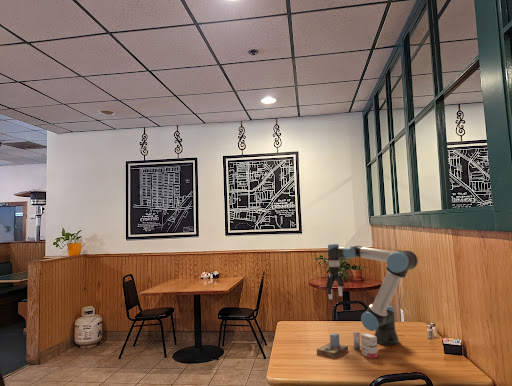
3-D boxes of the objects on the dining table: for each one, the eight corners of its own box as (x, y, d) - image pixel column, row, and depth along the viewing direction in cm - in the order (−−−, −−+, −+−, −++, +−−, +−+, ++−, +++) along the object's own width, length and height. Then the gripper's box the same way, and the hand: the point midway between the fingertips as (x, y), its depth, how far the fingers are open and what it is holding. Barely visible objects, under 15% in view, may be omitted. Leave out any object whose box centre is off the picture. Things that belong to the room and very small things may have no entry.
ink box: (378, 357, 212) (377, 336, 213) (371, 359, 210) (370, 337, 211) (367, 353, 220) (366, 332, 221) (361, 354, 218) (360, 334, 219)
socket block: (348, 351, 224) (347, 345, 224) (334, 358, 212) (334, 353, 213) (330, 347, 232) (330, 342, 232) (316, 354, 220) (316, 348, 221)
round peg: (361, 349, 227) (360, 332, 228) (358, 350, 224) (357, 333, 225) (355, 348, 229) (355, 331, 230) (353, 349, 226) (352, 332, 227)
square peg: (339, 351, 225) (339, 334, 226) (336, 352, 222) (335, 335, 223) (334, 349, 227) (333, 333, 228) (330, 351, 224) (329, 334, 225)
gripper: (338, 264, 268) (339, 294, 266) (319, 267, 250) (321, 299, 248) (347, 264, 263) (349, 295, 261) (329, 268, 245) (331, 301, 243)
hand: (335, 297), depth 255 cm, fingers open, 13 cm apart
